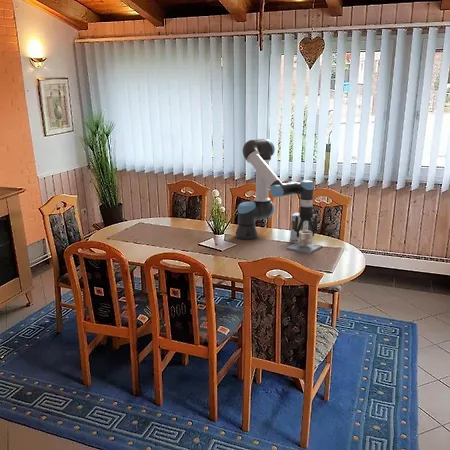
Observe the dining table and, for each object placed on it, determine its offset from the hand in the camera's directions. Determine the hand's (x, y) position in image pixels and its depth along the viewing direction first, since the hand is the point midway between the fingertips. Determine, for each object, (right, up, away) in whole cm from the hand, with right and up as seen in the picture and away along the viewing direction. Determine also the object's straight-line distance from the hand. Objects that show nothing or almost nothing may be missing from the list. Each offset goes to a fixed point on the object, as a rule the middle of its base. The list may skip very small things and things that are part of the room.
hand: (305, 241), depth 288 cm
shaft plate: (0, -4, +1) cm, 4 cm away
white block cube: (0, -1, 0) cm, 1 cm away
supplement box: (0, +1, +21) cm, 21 cm away
